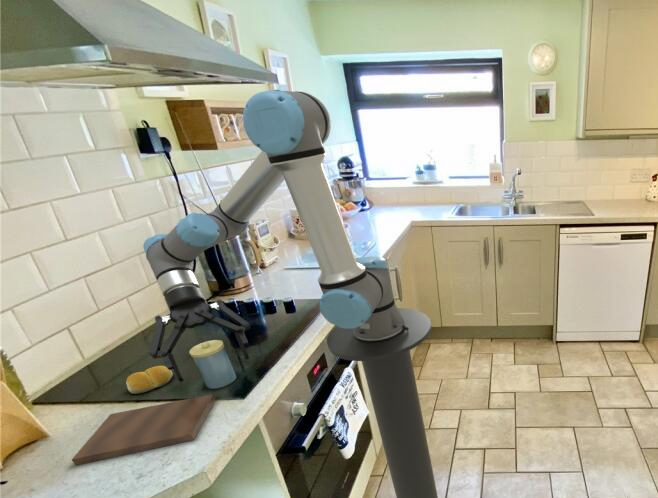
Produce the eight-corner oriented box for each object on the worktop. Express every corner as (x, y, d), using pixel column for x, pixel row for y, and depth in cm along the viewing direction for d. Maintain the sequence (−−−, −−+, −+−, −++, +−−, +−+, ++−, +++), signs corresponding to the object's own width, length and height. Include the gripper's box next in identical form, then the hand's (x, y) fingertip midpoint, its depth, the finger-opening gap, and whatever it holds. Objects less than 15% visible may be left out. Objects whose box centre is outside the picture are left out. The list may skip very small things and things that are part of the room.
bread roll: (178, 380, 104) (171, 367, 102) (133, 398, 98) (125, 385, 96) (168, 369, 109) (162, 356, 107) (125, 386, 103) (118, 372, 101)
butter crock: (240, 370, 107) (224, 333, 102) (233, 385, 101) (215, 346, 96) (210, 376, 105) (193, 338, 100) (201, 391, 99) (182, 352, 94)
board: (215, 399, 96) (213, 394, 96) (193, 439, 84) (190, 434, 84) (114, 419, 92) (110, 413, 91) (75, 465, 80) (71, 459, 79)
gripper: (240, 285, 113) (272, 353, 110) (122, 315, 99) (154, 394, 95) (237, 271, 107) (271, 343, 103) (111, 301, 93) (145, 385, 89)
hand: (215, 368), depth 99 cm, fingers open, 13 cm apart
